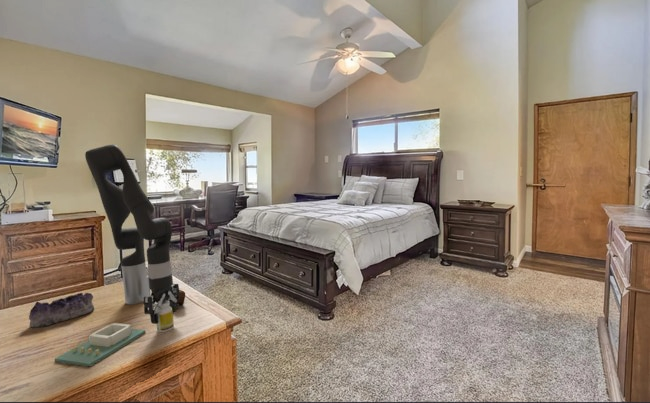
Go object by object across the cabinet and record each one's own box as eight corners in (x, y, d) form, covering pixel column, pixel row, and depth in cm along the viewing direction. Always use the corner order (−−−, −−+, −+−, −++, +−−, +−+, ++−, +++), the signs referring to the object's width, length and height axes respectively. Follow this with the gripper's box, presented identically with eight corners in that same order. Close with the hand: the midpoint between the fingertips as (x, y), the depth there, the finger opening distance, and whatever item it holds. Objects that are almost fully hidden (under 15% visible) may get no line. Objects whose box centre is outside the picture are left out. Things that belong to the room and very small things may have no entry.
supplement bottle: (177, 326, 115) (174, 300, 114) (165, 333, 110) (162, 306, 109) (165, 324, 117) (163, 299, 116) (153, 331, 112) (150, 305, 111)
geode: (34, 333, 115) (28, 307, 115) (27, 329, 122) (22, 305, 122) (98, 310, 131) (93, 287, 131) (89, 308, 138) (84, 286, 138)
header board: (114, 329, 115) (113, 319, 114) (145, 332, 111) (144, 322, 110) (55, 361, 95) (53, 349, 95) (89, 367, 92) (88, 354, 91)
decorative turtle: (178, 313, 126) (175, 294, 125) (151, 312, 131) (147, 294, 130) (195, 302, 135) (192, 285, 134) (169, 301, 140) (166, 284, 139)
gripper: (166, 267, 119) (170, 308, 121) (134, 280, 106) (139, 326, 107) (183, 268, 117) (186, 310, 119) (152, 281, 104) (157, 328, 105)
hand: (164, 317), depth 113 cm, fingers open, 8 cm apart
